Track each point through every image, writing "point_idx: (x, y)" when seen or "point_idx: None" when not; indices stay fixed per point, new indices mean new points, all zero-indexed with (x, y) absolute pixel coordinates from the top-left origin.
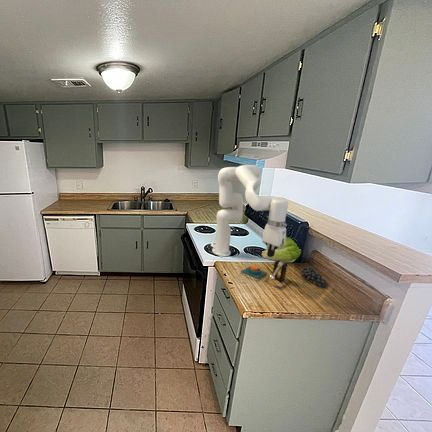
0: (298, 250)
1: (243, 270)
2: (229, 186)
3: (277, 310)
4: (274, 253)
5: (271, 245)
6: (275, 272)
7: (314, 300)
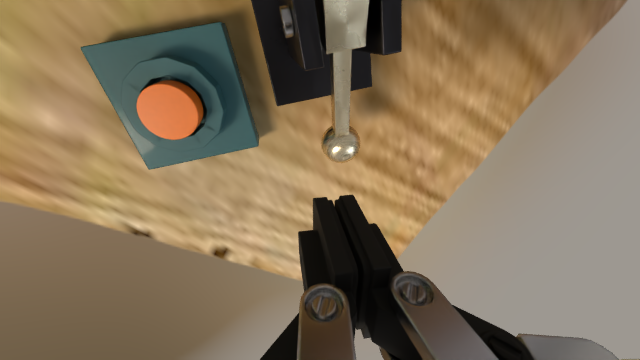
0: None
1: (145, 154)
2: None
3: (423, 225)
4: (383, 237)
5: (345, 356)
6: (344, 110)
7: (510, 27)
